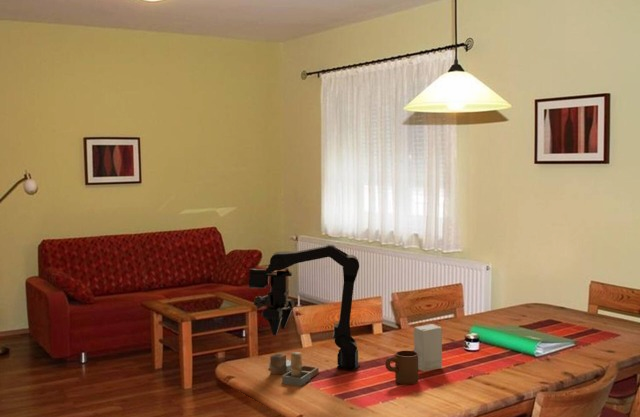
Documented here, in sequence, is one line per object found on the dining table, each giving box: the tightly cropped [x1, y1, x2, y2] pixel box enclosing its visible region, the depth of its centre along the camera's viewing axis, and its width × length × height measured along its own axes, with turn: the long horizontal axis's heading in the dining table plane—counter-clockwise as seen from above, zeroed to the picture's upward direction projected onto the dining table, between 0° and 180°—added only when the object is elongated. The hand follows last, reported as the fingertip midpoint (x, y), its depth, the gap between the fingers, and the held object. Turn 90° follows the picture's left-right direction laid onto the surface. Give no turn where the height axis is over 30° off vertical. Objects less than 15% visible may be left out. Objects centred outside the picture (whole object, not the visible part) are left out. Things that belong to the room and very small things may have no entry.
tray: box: [281, 371, 312, 387], centre depth 228 cm, size 7×7×2 cm
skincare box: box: [413, 323, 443, 372], centre depth 241 cm, size 8×6×15 cm
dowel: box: [290, 351, 303, 378], centre depth 228 cm, size 4×4×9 cm
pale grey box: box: [268, 359, 291, 373], centre depth 243 cm, size 8×6×2 cm
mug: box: [384, 350, 419, 386], centre depth 226 cm, size 12×8×9 cm, turn 116°
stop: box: [269, 352, 287, 376], centre depth 237 cm, size 4×4×6 cm
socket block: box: [302, 364, 320, 379], centre depth 235 cm, size 6×6×2 cm
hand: (278, 332), depth 242 cm, fingers open, 9 cm apart
